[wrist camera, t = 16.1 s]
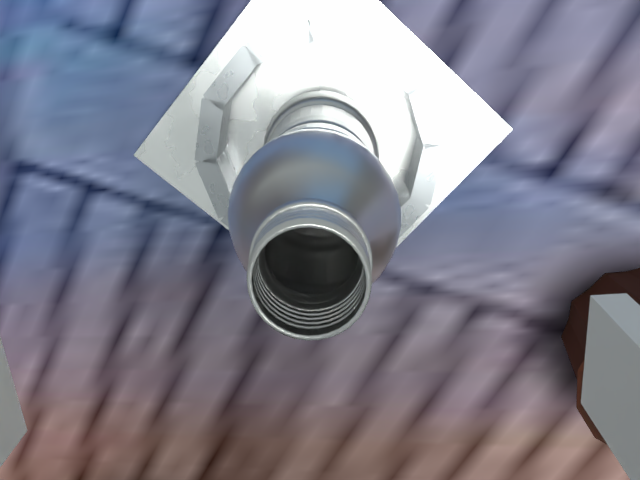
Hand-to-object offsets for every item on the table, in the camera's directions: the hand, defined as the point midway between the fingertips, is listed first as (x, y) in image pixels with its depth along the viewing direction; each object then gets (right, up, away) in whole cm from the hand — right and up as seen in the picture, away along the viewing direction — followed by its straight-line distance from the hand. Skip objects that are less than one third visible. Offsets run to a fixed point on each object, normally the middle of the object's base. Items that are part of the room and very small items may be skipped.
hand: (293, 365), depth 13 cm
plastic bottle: (+1, +9, +22) cm, 24 cm away
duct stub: (+1, +9, +23) cm, 25 cm away
